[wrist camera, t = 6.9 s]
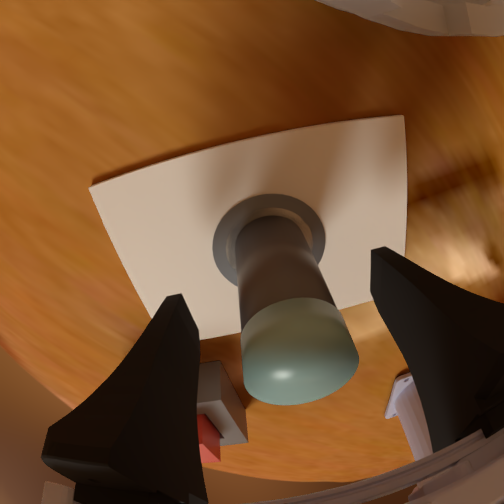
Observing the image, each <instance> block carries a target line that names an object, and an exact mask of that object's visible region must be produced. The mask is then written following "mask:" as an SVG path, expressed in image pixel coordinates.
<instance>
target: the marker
mask: <svg viewBox="0 0 504 504" xmlns="http://www.w3.org/2000/svg"><path fill="white" fill-rule="evenodd" d="M235 257H236V271H237V284H238V297H239V310H240V322H241V339H240V341H241V354H242V366H243V378H244V385H245V388H246V390H247V391H248V393H249V394H250V395H252V396H253V397H254V398H256V399H258V400H260V401H263V402H266V403H269V404H275V405H296V404H303V403H307V402H311V401H315V400H318V399H320V398H323V397H325V396H327V395H329V394H331V393H333V392H335V391H336V390H338V389H339V388H341V387H342V386H343V385H345V384H346V383H347V382H348V381H349V380H350V379H351V377H352V376H353V375H354V373H355V372H356V370H357V367H358V364H359V355H358V352H357V350H356V347H355V345H354V343H353V340H352V338H351V335H350V333H349V331H348V328H347V326H346V324H345V321H344V319H343V317H342V315H341V313H340V312H339V310H338V309H337V307H336V305H335V302H334V300H333V298H332V296H331V293H330V291H329V289H328V287H327V284H326V282H325V280H324V278H323V275H322V273H321V271H320V269H319V267H318V264H317V262H316V260H315V258H314V256H313V254H312V251H311V249H310V247H309V245H308V243H307V241H306V239H305V237H304V235H303V232H302V231H301V229H300V228H299V226H298V225H297V224H296V223H294V222H293V221H292V220H290V219H288V218H285V217H282V216H276V215H269V216H263V217H260V218H257V219H255V220H253V221H251V222H250V223H248V224H247V225H246V226H245V227H244V228H243V229H242V230H241V231H240V233H239V235H238V237H237V239H236V243H235Z"/></svg>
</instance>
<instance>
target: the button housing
mask: <svg viewBox="0 0 504 504" xmlns="http://www.w3.org/2000/svg"><path fill="white" fill-rule="evenodd" d="M198 414H205V415H206V416H207V417H208V419H209V420H210V421H211V423H212V424H213V425H214V426H215V428H216V429H217V430H218V431H219V433H220V446H224V445H233V444H241V443H248V433H247V422H246V411H245V408H244V406H243V405H242V403H241V401H240V399H239V397H238V395H237V393H236V391H235V389H234V387H233V385H232V383H231V381H230V379H229V377H228V375H227V373H226V371H225V369H224V367H223V365H222V363H221V361H214V362H208V363H201V364H200V366H199V379H198V393H197V415H198Z"/></svg>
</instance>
